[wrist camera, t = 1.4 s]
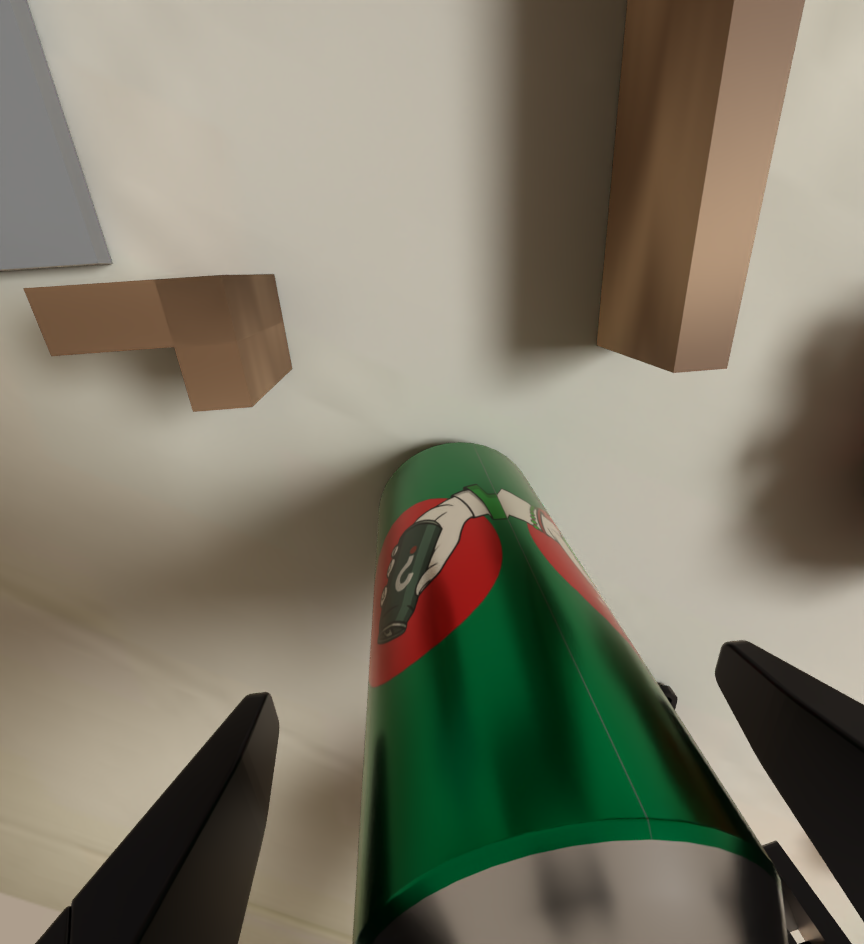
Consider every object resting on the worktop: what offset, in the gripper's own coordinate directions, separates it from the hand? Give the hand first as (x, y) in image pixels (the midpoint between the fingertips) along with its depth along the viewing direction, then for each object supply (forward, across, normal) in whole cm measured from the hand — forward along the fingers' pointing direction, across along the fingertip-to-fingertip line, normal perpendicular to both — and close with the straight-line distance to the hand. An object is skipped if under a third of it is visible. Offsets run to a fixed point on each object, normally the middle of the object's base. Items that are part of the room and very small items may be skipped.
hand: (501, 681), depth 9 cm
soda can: (+7, 0, 0) cm, 7 cm away
